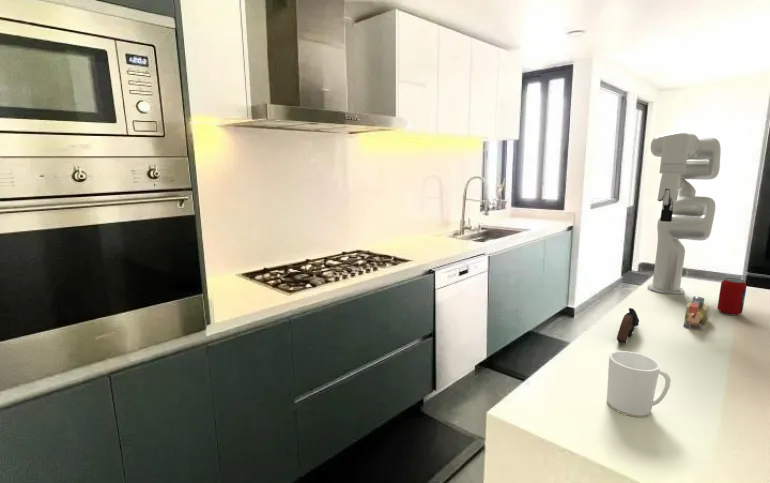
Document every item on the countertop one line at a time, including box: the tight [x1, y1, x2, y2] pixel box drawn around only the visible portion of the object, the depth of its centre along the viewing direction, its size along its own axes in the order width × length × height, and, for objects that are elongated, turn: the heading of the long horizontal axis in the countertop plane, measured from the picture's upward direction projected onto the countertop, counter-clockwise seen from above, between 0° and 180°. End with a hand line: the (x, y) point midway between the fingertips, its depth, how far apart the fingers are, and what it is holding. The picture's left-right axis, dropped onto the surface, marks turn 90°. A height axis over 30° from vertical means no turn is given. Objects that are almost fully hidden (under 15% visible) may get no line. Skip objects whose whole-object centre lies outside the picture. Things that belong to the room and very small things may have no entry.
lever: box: [689, 296, 705, 314], centre depth 130 cm, size 13×3×3 cm, turn 136°
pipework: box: [683, 302, 709, 331], centre depth 134 cm, size 22×5×5 cm, turn 138°
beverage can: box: [716, 277, 747, 316], centre depth 141 cm, size 7×7×12 cm
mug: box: [606, 350, 672, 418], centre depth 84 cm, size 11×9×10 cm
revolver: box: [616, 307, 640, 345], centre depth 121 cm, size 3×18×12 cm
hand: (665, 221), depth 146 cm, fingers closed
